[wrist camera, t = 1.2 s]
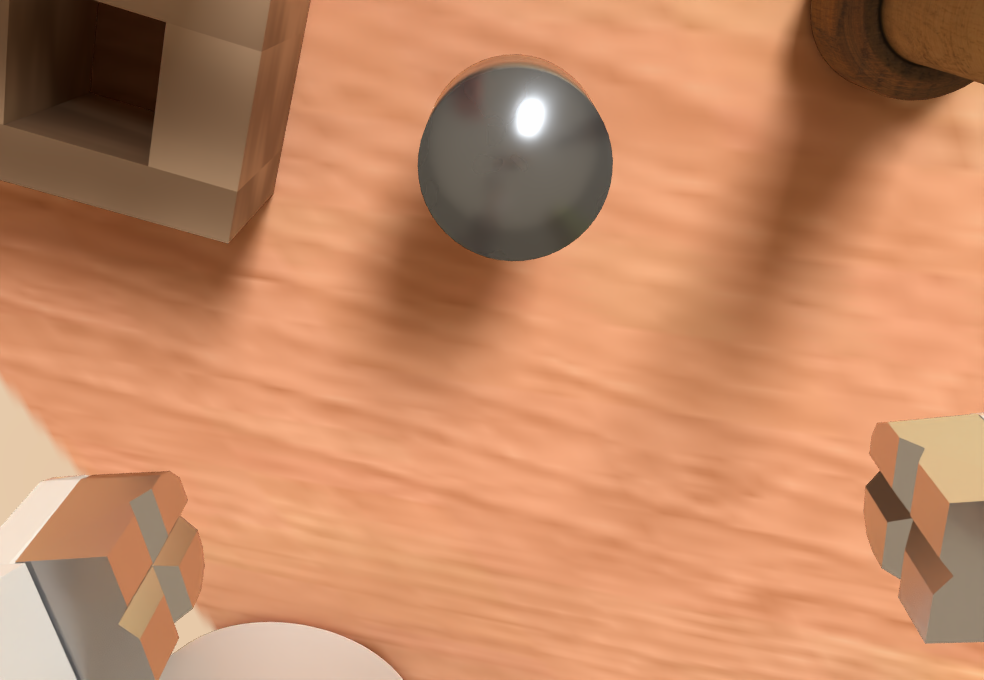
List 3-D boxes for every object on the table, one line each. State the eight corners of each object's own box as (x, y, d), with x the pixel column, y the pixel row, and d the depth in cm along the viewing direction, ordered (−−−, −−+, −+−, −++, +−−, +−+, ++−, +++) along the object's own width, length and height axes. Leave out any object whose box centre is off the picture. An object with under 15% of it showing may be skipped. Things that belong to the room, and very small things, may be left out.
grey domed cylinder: (557, 207, 33) (574, 282, 25) (419, 165, 32) (397, 231, 25) (607, 64, 30) (641, 103, 23) (459, 16, 30) (447, 40, 22)
